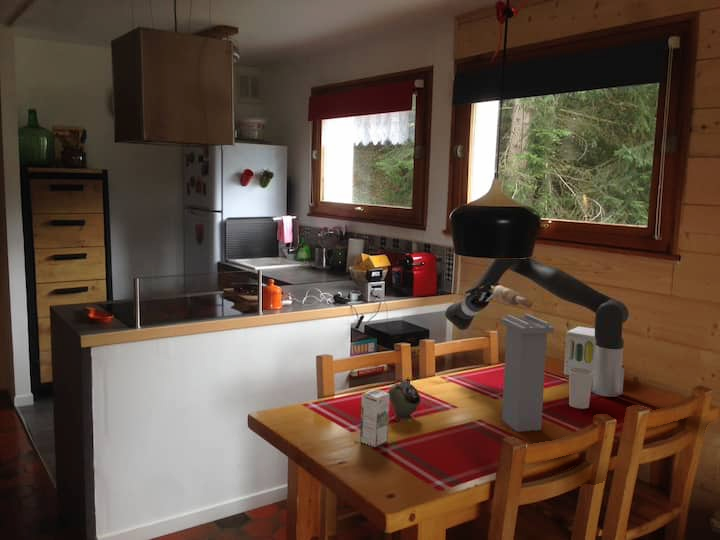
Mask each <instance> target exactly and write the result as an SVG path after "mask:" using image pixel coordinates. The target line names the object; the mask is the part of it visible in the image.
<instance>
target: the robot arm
mask: <svg viewBox="0 0 720 540" xmlns="http://www.w3.org/2000/svg"><path fill="white" fill-rule="evenodd" d="M508 270H510V271H511V272H514V273H516V274H518V275H521V276H523V277H525V278H527V279H529V280H531V281H532V282H534V283H535V284H536V285H538V286H539V287H541V288H543V289H544V290H546V291H547V292H549V293H551V294H552V295H554V296H556V297H558V298H560V299H561V300H563V301H565V302H568V303H572V304H575V305H578V306H581V307H584V308H585V309H588V310H590V311H591V312H593V313H594V314H595V317H594V329H595V339H596V347H595V361H594V375H593V381H592V388H591V393H593V394H594V395H597V396H601V397H607V398H608V397H609V398H610V397H611V398H613V397H614V398H615V397H619V396H622V395H623V389H624V388H623V387H624V377H625V368H624V367H623V355H624V346H625V345H624V343H625V342H624V338H623V336H622V335H623V324H624V323H625V322H626V321H627V320H628V319H629V316H630V315H629V314H630V313H629V309H628V307H627V306H626V305H625V304H624V303H623V302H621V301H620V300H618V299H616V298H613V297H611V296H608V295H606V294H603V293H601V292H599V291H598V290H596V289H594V288H593V287H591V286H589V285H588V284H586V283H585V282H583V281H581V280H579V279H578V278H576V277H574V276H573V275H571V274H569V273H568V272H566V271H564V270H562V269H560V268H557V267H553V266H550V265H547V264H542V263H540V262H538V261H536V260H535V259H533V258H532V257H530V258H526V259H495V258H494V259H493V261H492V262H491V263H490V265H489V266H488V268H487V270H486V271H485V272H484V273H483V274H482V275H481V276H480V278H479V279H478V280H477V282H475V284H474V285H473V286H472V287H470V288H471V289H469V290H466V291H465V295H464V296H463V300H461V301H459V302H454V303H452V304H451V305H449V306H448V307H447V308H446V309H445V313H444V314H445V315H444V316H445V317H446V319H447V320H448V321H449V322H450V323H451V324H453V326H455V327H456V328H457V329H458V330H460V331H465V330H468V328H469V327H471V324H472V322H473V321H474V317H475V316H476V315H478V314H479V313H480V312H482V311H483V310H484V309H486V307H488V306H489V303H490V300H493V299H494V298H495V297H494V296H493V293H491V292H489V290H490V289H491V286H494V287H496V286H498V285H500V284H499V281H500V279H501V278H502V277H503V275H504V274H505V273H506V272H507V271H508Z"/></svg>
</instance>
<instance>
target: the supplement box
mask: <svg viewBox="0 0 720 540" xmlns="http://www.w3.org/2000/svg"><path fill="white" fill-rule="evenodd" d="M595 347H596V339H595V328H592V327H587V326H586V327H585V326H579V325H578V326H576V327H575V328H572V329H570V330H567V331H566V337H565V349H564V350H565V353H564V364H563V365H564V368H563V375H564V376H568V375H569V369H570V368H575V367H579V368H586V369H590V370H592V371H594V361H595Z"/></svg>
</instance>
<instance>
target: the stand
mask: <svg viewBox="0 0 720 540" xmlns="http://www.w3.org/2000/svg"><path fill="white" fill-rule="evenodd" d="M500 324H501V325H503V326H506V336H505V356H504V371H503V373H504V374H503V375H504V376H503V377H504V378H503V392H502V413H501V421H503V423H505V424H506V425H508V426H509V427H510V428H512V429H513V430H514V431H515V432H519V433H520V432H531V431H532V430H533V431H541V430H542V423H543V422H542V419H543V402H544V401H543V400H544V390H545V389H544V387H545V373H546V372H545V371H546V354H547V338H548V334H552V333H553V334H554V332H555V327H554V326H552V325H550V323H549V322H547V321H545V320H542V319H540V318H538V317H536V316H533V315H531V314H529V313H525V314H524V317H515V316H513V315H511V314H506V316H505V317H504V318H503V317H502V318H501V319H500Z"/></svg>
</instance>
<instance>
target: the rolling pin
mask: <svg viewBox="0 0 720 540" xmlns="http://www.w3.org/2000/svg"><path fill="white" fill-rule="evenodd" d="M489 292H491V293H493V296H494V297H493V298H495V299H497V300H499V301H503V302H505V303H507V304H509V305H512V306H519V305H521V306H524V307H526V308H532V307H533V305H534V302H533V300H531V299H528V298H525V297H524V296H522V293H520V291H517V290H514V289H512V288H508V287H505V286H503V285H500V284H499V285H498V286H496V287H494V286H491V289H490V290H489Z"/></svg>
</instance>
